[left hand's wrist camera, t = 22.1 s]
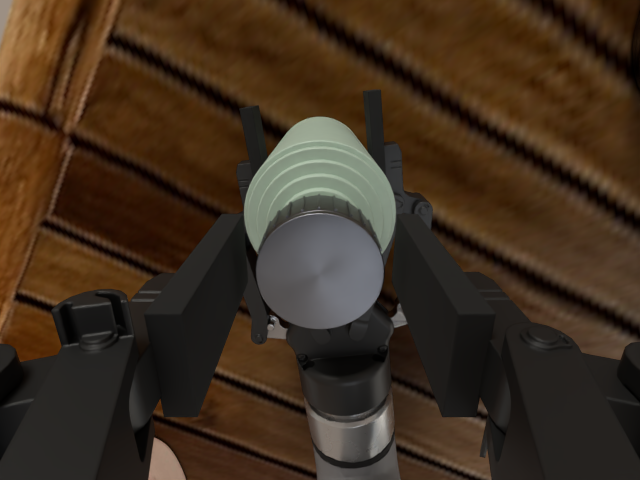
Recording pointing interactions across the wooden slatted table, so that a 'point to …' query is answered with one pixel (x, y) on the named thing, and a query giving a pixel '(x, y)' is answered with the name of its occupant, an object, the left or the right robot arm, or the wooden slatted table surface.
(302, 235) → the cap
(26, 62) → the wooden slatted table surface
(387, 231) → the bottle
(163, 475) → the anatomical model
